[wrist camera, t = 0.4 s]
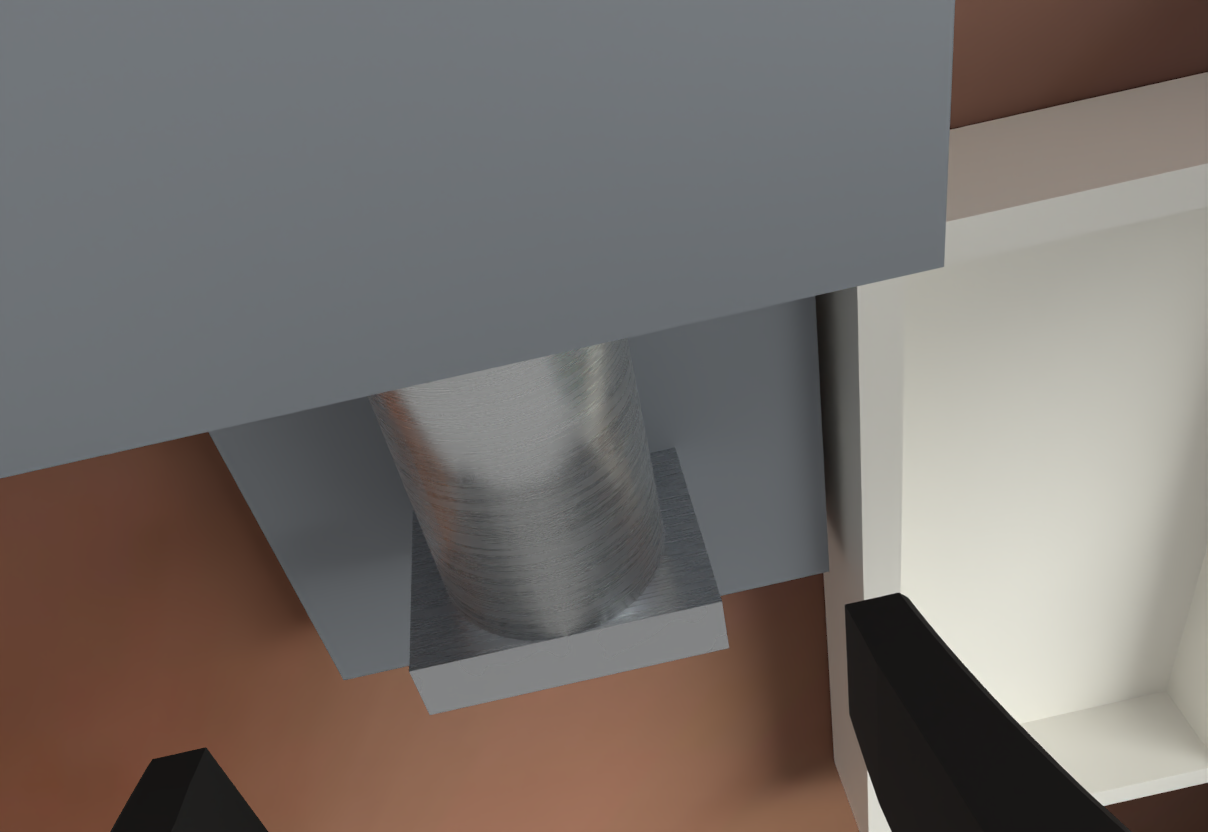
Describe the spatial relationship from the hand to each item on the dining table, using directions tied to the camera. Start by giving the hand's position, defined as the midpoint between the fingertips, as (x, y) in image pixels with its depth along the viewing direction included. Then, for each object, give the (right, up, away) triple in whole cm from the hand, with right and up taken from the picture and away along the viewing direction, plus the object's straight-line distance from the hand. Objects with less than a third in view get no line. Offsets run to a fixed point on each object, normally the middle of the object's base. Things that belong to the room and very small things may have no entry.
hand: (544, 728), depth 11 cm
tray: (+11, +2, +13) cm, 17 cm away
